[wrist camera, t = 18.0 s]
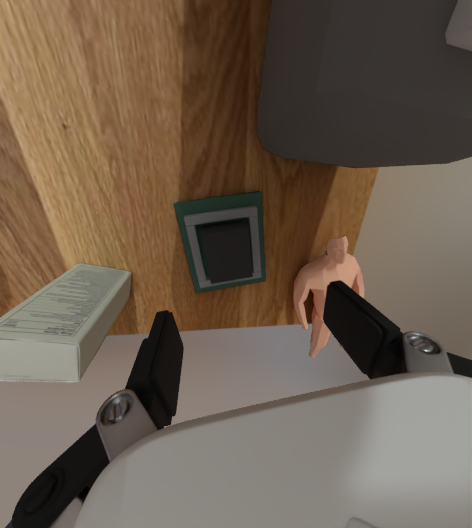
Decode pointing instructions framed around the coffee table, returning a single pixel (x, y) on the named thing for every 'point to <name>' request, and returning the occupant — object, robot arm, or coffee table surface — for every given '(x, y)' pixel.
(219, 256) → the black block
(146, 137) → the coffee table surface
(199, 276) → the base pad
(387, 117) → the alarm clock
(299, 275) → the male figurine
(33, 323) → the cosmetic box
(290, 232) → the coffee table surface
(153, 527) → the robot arm
